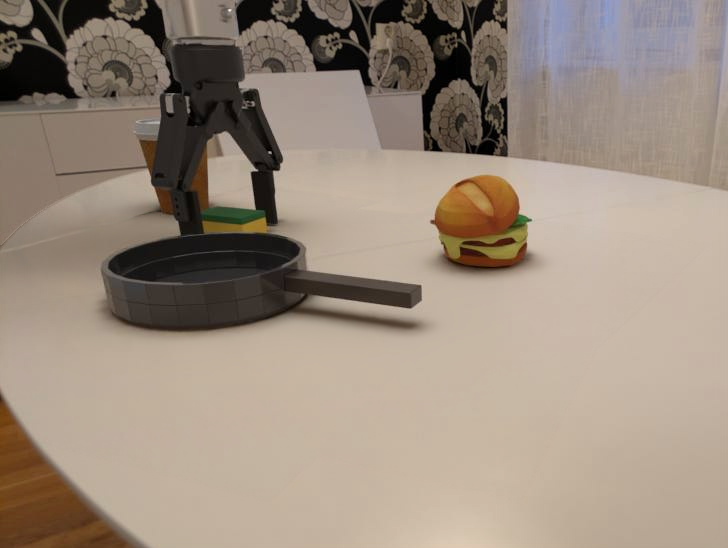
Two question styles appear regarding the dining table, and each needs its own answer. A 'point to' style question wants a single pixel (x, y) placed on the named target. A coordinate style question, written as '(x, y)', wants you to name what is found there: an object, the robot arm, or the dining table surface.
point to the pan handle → (353, 288)
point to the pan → (203, 279)
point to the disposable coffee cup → (148, 142)
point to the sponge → (233, 220)
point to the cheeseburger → (482, 223)
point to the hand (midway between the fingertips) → (233, 235)
